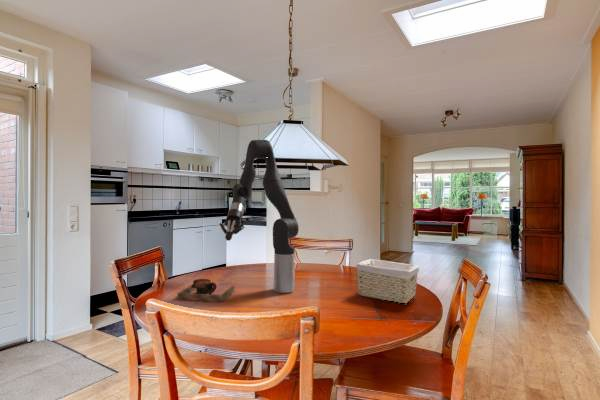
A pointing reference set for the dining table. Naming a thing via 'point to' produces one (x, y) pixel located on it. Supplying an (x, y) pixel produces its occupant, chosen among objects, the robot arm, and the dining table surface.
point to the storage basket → (387, 280)
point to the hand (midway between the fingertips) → (227, 239)
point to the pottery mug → (204, 286)
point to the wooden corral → (204, 295)
